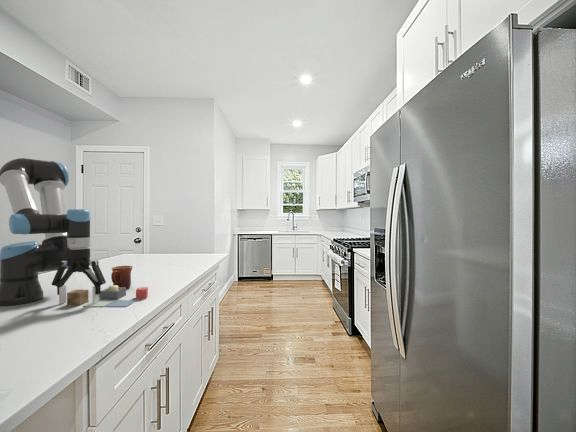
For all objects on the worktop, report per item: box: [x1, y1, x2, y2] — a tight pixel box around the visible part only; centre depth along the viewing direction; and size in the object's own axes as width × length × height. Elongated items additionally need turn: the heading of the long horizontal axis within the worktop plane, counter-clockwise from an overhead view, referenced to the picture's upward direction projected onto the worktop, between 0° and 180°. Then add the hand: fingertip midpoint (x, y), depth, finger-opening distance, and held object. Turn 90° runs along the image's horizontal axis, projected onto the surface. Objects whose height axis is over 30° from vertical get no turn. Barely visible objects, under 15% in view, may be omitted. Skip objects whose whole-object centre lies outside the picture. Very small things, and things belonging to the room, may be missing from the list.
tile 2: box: [105, 299, 137, 308], centre depth 120 cm, size 8×8×1 cm
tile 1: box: [82, 299, 116, 308], centre depth 120 cm, size 8×8×1 cm
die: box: [135, 286, 149, 300], centre depth 129 cm, size 4×4×4 cm
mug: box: [110, 265, 133, 290], centre depth 142 cm, size 12×9×10 cm
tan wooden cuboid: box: [66, 289, 89, 307], centre depth 120 cm, size 5×5×5 cm
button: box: [108, 284, 118, 291], centre depth 129 cm, size 4×4×4 cm
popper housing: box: [99, 287, 127, 301], centre depth 129 cm, size 7×7×4 cm
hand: (79, 302), depth 119 cm, fingers open, 12 cm apart
